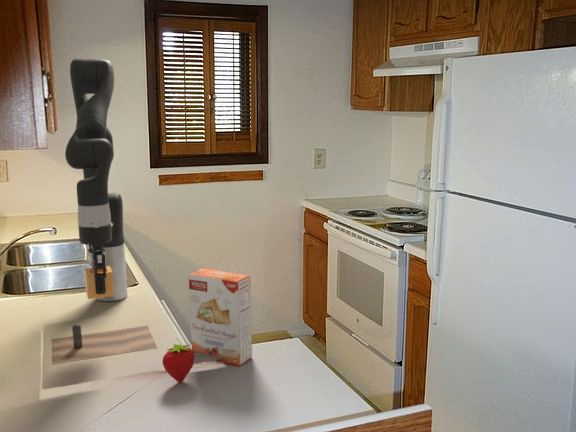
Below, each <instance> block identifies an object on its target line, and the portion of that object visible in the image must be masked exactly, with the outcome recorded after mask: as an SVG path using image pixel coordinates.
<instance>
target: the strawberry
mask: <svg viewBox="0 0 576 432" xmlns="http://www.w3.org/2000/svg"><path fill="white" fill-rule="evenodd" d="M177 340H178V342H179V343H180V344H176V343H173V347H171V348H168V349H166V353H165V354H164V355H163V357H162V365H163V368H164V370H165V372H166V373H168V375H169V376H170V377H171V378H173V379H174V380H175V381H176V382H177V383H182V382H184V381H185V379H186V377H187V376H188V374H189V373H190V371H191V369H192V368H193V366H194V362H195V357H196V356H195V352H194V351H193V350H192V348H190V346H191V344H182V343H181V341H180V340H179V339H177Z"/></svg>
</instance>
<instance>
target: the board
mask: <svg viewBox="0 0 576 432" xmlns="http://www.w3.org/2000/svg"><path fill="white" fill-rule="evenodd" d="M71 330H72V336H71V335H70V336H65V337H57V338H52V339H51V365H59V364H65V363H70V362H78V361H84V360H90V359H96V358H97V359H98V358H102V357H103V358H104V357H110V356H115V355H122V354H128V353H134V352H140V351H148V350H153V349H158V346H157V344H156V342H155V339H154V337H153V334H152V332H151V330H150V328H149V326H148V325H142V326H134V327H130V328H129V327H128V328H120V329H115V330H114V329H113V330H107V331H106V330H105V331H100V332H94V333H93V332H92V333H86V334H82V326H81V325H80V324H79V323H75V324H73V325H72V329H71Z"/></svg>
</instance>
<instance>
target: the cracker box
mask: <svg viewBox="0 0 576 432" xmlns="http://www.w3.org/2000/svg"><path fill="white" fill-rule="evenodd" d="M188 288H189V289H188V290H189V314H190V317H189V318H190V336H191V337H190V338H191V350H192V351H193V352H194V351H195V352H199V353H203V354H206V355H211V356H215V357H218V359H215V361H217V362H221V363H225V364H228V365H232V366H237V367H242V365H243V364H244V363H247V362H248V361H249V360H250V359H252V358H253V347H252V346H253V340H252V339H253V338H252V337H253V336H252V328H253V327H252V295H251V294H252V293H251V289H252V288H251V276H250V275H247V274H241V273H234V272H227V271H222V270H215V269H208V268H202V267H201V268H200V269H198V270H195V271H193V272H191V273H189V274H188ZM219 357H220V358H219Z"/></svg>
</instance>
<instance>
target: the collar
mask: <svg viewBox="0 0 576 432" xmlns="http://www.w3.org/2000/svg"><path fill="white" fill-rule="evenodd" d="M83 271H84V281H85V282H84V283H85V293H86V296H87V299H88V300H93V299H97V298H101V297H109V296H114V287H113V272H112V270H111V268H110V266H106V275H107V276H106V278H105V289H106V292H105V293H104V294H96V287H95V278H94V271H93V270H92V269H91V267H87V268H84V269H83ZM98 273H103V272H102V269H100V270H97V274H98Z"/></svg>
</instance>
